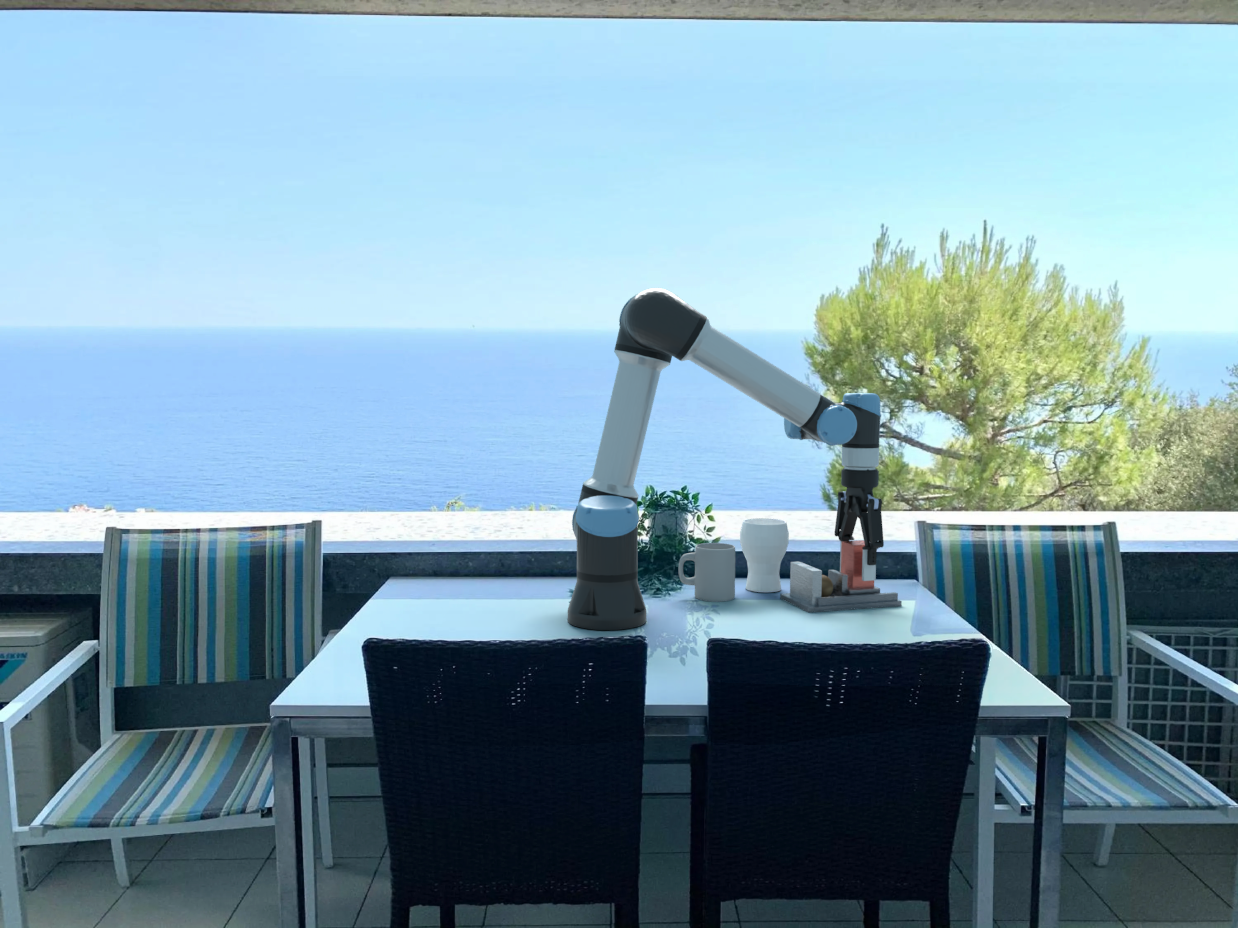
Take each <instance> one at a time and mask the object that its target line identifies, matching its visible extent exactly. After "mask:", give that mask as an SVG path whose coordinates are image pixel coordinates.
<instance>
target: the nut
mask: <svg viewBox="0 0 1238 928" xmlns="http://www.w3.org/2000/svg"><path fill="white" fill-rule="evenodd" d="M832 591H833V583H832V581H831V579H830V578H829V577H828V575H825V574H822V591H821V597H829V596H830V595H831V593H832Z"/></svg>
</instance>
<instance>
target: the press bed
mask: <svg viewBox="0 0 1238 928" xmlns="http://www.w3.org/2000/svg"><path fill="white" fill-rule="evenodd" d="M789 568H790V573H789V581H790V582H789V592H787V593H780V594H779V598H780V600H783V601H784V602H787V604H788V603H789V604H790V605H793V606H795V607H796V608H799V609H801V610H803V611H805V612H807V613H821V612H833V611H834V612H835V611H836V612H837V611H847V610H850V611H852V610H863V609H877V608H889V607H893V608H894V607H902V604H903V603H902V602H903V601H902V600H900V599H898V598H899V595H898V594H899V593H898V592H895V591H894V592H880V593H877V594H862V595H848V596H833V595H830V596H829V597H821V591H822V575H823V570H821V569H819V568H816V567H814V566H811V565H809V564H806V563H804V562H802V561H790V567H789Z"/></svg>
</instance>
